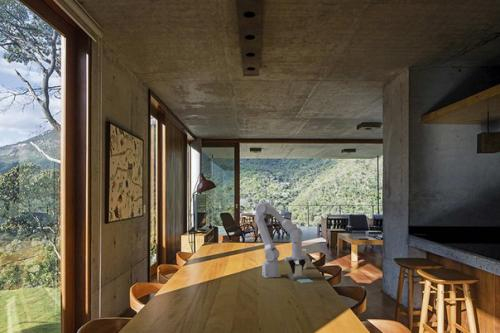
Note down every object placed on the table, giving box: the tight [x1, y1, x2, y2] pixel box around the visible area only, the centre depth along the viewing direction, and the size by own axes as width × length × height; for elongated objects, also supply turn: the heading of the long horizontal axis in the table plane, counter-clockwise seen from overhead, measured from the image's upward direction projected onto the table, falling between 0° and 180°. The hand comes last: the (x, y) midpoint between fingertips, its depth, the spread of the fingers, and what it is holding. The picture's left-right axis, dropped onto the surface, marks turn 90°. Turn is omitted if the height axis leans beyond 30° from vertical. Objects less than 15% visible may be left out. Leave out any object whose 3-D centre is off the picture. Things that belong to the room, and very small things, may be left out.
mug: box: [290, 248, 307, 270], centre depth 255 cm, size 10×7×12 cm, turn 80°
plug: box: [292, 264, 303, 276], centre depth 228 cm, size 4×4×7 cm
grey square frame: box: [286, 273, 308, 281], centre depth 228 cm, size 9×9×2 cm
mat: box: [296, 278, 315, 284], centre depth 219 cm, size 7×7×1 cm
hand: (297, 273), depth 228 cm, fingers closed on plug, 4 cm apart
